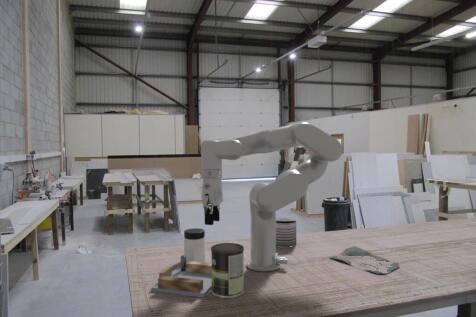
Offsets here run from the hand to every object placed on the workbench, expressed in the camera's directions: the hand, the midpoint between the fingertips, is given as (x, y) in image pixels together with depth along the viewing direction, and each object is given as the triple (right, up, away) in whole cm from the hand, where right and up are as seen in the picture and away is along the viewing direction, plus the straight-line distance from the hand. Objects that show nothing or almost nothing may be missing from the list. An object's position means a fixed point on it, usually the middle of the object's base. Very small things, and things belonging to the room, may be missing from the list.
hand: (212, 222), depth 134 cm
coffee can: (+6, -19, -20) cm, 28 cm away
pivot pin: (-10, -17, -4) cm, 20 cm away
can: (+31, -16, +34) cm, 48 cm away
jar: (-8, -17, +11) cm, 22 cm away
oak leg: (-3, -16, -6) cm, 18 cm away
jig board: (-7, -18, -12) cm, 23 cm away
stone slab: (+59, -18, +7) cm, 62 cm away
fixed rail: (-8, -17, -20) cm, 28 cm away
